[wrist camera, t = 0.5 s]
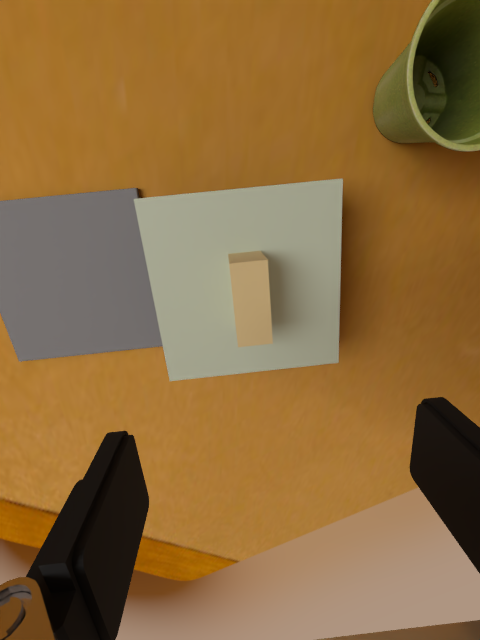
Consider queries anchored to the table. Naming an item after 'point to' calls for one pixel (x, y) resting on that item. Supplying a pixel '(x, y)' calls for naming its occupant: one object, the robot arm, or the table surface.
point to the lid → (245, 277)
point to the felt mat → (75, 275)
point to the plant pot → (452, 76)
